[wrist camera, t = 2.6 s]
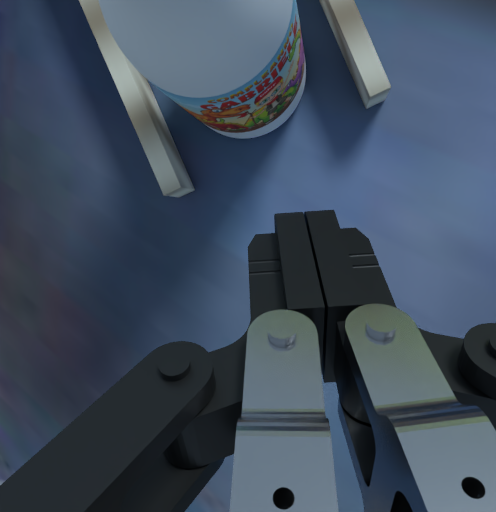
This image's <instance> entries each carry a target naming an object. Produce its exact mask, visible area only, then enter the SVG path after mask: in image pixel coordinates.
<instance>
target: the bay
mask: <svg viewBox="0 0 496 512" xmlns="http://www.w3.org/2000/svg"><path fill="white" fill-rule="evenodd" d="M319 1H320V3H321V6H322V8H323V10H324V13H325V15H326V17H327V20H328V22H329V24H330V27H331V29H332V31H333V34H334V36H335V38H336V41H337V43H338V45H339V47H340V50H341V52H342V54H343V57H344V59H345V61H346V64H347V66H348V68H349V71H350V73H351V75H352V78H353V80H354V82H355V85H356V87H357V89H358V92H359V94H360V96H361V99H362V101H363V103H364V106H365V108H366V109H368V108H370V107H372V106H374V105H376V104H378V103H380V102H382V101H384V100H385V99H386V97H387V95H388V92H389V90H390V88H391V85H390V83H389V81H388V78H387V76H386V74H385V71H384V69H383V67H382V65H381V62H380V60H379V58H378V55H377V53H376V51H375V48H374V46H373V44H372V41H371V39H370V37H369V34H368V32H367V30H366V27H365V25H364V23H363V20H362V18H361V16H360V13H359V11H358V9H357V6H356V4H355V2H354V0H319ZM79 2H80V4H81V6H82V9H83V11H84V13H85V16H86V18H87V20H88V22H89V25H90V27H91V29H92V32H93V34H94V36H95V39H96V41H97V43H98V45H99V48H100V50H101V52H102V55H103V57H104V59H105V61H106V64H107V66H108V68H109V71H110V73H111V75H112V78H113V80H114V82H115V84H116V87H117V89H118V91H119V94H120V96H121V98H122V101H123V103H124V105H125V107H126V110H127V112H128V114H129V117H130V119H131V121H132V124H133V126H134V128H135V130H136V133H137V135H138V137H139V140H140V142H141V144H142V147H143V149H144V151H145V153H146V156H147V158H148V160H149V163H150V165H151V167H152V170H153V172H154V174H155V176H156V179H157V181H158V183H159V186H160V188H161V190H162V192H163V195H164V196H172V197H181V196H183V195H186V194H188V193H190V192H192V191H194V190H195V189H194V186H193V184H192V182H191V180H190V177H189V175H188V173H187V170H186V168H185V166H184V163H183V161H182V159H181V157H180V154H179V152H178V150H177V147H176V145H175V143H174V140H173V138H172V136H171V134H170V131H169V129H168V127H167V124H166V122H165V120H164V117H163V115H162V113H161V111H160V108H159V106H158V104H157V101H156V99H155V97H154V94H153V92H152V90H151V88H150V85H149V83H148V81H147V79H146V78H145V77H144V76H143V75H142V74H141V73H140V72H139V71H138V70H137V69H136V68H135V67H134V66H133V65H132V64H131V62H130V61H129V60H128V59H127V57H126V56H125V55H124V54H123V52H122V51H121V49H120V48H119V47H118V45H117V43H116V42H115V40H114V38H113V36H112V34H111V33H110V31H109V29H108V26H107V24H106V22H105V19H104V16H103V14H102V11H101V8H100V5H99V1H98V0H79Z"/></svg>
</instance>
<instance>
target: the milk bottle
mask: <svg viewBox="0 0 496 512" xmlns="http://www.w3.org/2000/svg"><path fill="white" fill-rule="evenodd" d="M98 1H99V5H100V8H101V11H102V14H103V16H104V19H105V22H106V24H107V26H108V29H109V31H110V33H111V34H112V36H113V38H114V40H115V42H116V43H117V45H118V47H119V48H120V49H121V51H122V52H123V54H124V55H125V56H126V57H127V59H128V60H129V61H130V62H131V64H132V65H133V66H134V67H135V68H136V69H137V70H138V71H139V72H140V73H141V74H142V75H143V76H144V77H145V78H146V79H148V80H149V81H150V82H151V83H152V84H153V85H154V86H155V87H157V88H158V89H159V90H160V91H162V92H163V93H164V94H165V95H167V96H168V97H169V98H170V99H172V100H173V101H174V102H176V103H177V104H178V105H179V106H181V107H182V108H183V109H185V110H186V111H187V112H189V113H190V114H191V115H193V116H194V117H195V118H197V119H198V120H199V121H201V122H202V123H203V124H205V125H206V126H207V127H209V128H211V129H212V130H214V131H216V132H218V133H220V134H222V135H225V136H228V137H232V138H239V139H247V138H255V137H259V136H262V135H265V134H267V133H269V132H271V131H273V130H275V129H276V128H278V127H279V126H280V125H282V124H283V123H284V122H285V121H286V120H287V119H288V118H289V117H290V116H291V114H292V113H293V112H294V110H295V109H296V107H297V105H298V104H299V101H300V99H301V97H302V94H303V91H304V87H305V80H306V63H305V55H304V47H303V40H302V34H301V27H300V20H299V15H298V9H297V3H296V0H98Z"/></svg>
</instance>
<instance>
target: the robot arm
mask: <svg viewBox="0 0 496 512" xmlns="http://www.w3.org/2000/svg"><path fill="white" fill-rule="evenodd" d="M274 220H275V233H271V234H256V235H255V236H254V238H253V240H252V241H251V243H250V244H249V246H248V261H249V285H250V310H251V321H250V325H249V327H248V329H247V331H246V332H245V334H244V335H243V336H242V337H241V338H240V339H238V340H237V341H236V342H234V343H232V344H231V345H229V346H226V347H224V348H221V349H218V350H215V351H212V352H209V353H208V352H207V351H206V350H205V349H204V348H203V347H201V346H200V345H198V344H195V343H192V342H185V341H179V342H172V343H168V344H165V345H163V346H160V347H158V348H157V349H155V350H154V351H152V352H151V353H150V354H149V355H147V356H146V357H145V358H144V359H143V360H142V361H141V362H140V363H138V364H137V365H136V366H135V367H134V368H133V369H132V370H130V371H129V372H128V373H127V374H126V375H125V376H124V377H123V378H121V379H120V380H119V381H118V382H117V383H116V384H115V385H114V386H112V387H111V388H110V389H109V390H108V391H107V392H106V393H104V394H103V395H102V396H101V397H100V398H99V399H98V400H97V401H95V402H94V403H93V404H92V405H91V406H90V407H89V408H88V409H86V410H85V411H84V412H83V413H82V414H81V415H80V416H78V417H77V418H76V419H75V420H74V421H73V422H72V423H71V424H69V425H68V426H67V427H66V428H65V429H64V430H63V431H62V432H60V433H59V434H58V435H57V436H56V437H55V438H54V439H52V440H51V441H50V442H49V443H48V444H47V445H46V446H45V447H43V448H42V449H41V450H40V451H39V452H38V453H37V454H35V455H34V456H33V457H32V458H31V459H30V460H29V461H28V462H26V463H25V464H24V465H23V466H22V467H21V468H20V469H19V470H17V471H16V472H15V473H14V474H13V475H12V476H11V477H9V478H8V479H7V480H6V481H5V482H4V483H3V484H2V485H0V512H185V510H186V509H187V508H188V507H189V505H190V504H191V503H192V502H193V500H194V499H195V498H196V497H197V495H198V494H199V493H200V492H201V490H202V489H203V488H204V487H205V485H206V484H207V483H208V481H209V480H210V479H211V478H212V476H213V475H214V474H215V473H216V471H217V470H218V469H219V468H220V466H221V465H222V463H223V461H224V459H225V457H227V456H230V455H232V454H234V464H233V476H232V489H231V502H230V512H338V503H337V493H336V483H335V473H334V463H333V453H332V443H331V433H330V426H329V421H328V418H326V416H325V407H324V397H323V386H322V374H323V379H324V383H326V382H336V384H337V389H338V393H339V400H338V414H339V418H340V421H341V425H342V428H343V432H344V435H345V438H346V442H347V445H348V449H349V452H350V455H351V459H352V462H353V466H354V469H355V472H356V476H357V479H358V483H359V486H360V489H361V493H362V498H363V503H364V512H496V323H487V324H481V325H477V326H475V327H473V328H471V329H470V330H469V331H468V332H467V333H466V335H465V337H464V339H461V338H456V337H450V336H445V335H439V334H434V333H430V332H427V331H424V330H422V329H420V328H418V327H417V326H416V324H415V322H414V321H413V319H412V318H411V317H410V316H409V315H408V314H406V313H405V312H403V311H402V310H400V309H398V308H397V307H396V305H395V303H394V300H393V298H392V295H391V293H390V290H389V288H388V285H387V283H386V280H385V278H384V275H383V273H382V271H381V268H380V266H379V263H378V261H377V258H376V256H375V255H374V251H373V248H372V246H371V244H370V241H369V239H368V238H367V237H366V236H365V235H363V234H362V233H361V232H360V231H359V230H358V229H356V228H344V229H340V227H339V224H338V220H337V217H336V214H335V212H334V210H323V211H308V212H305V213H304V214H303V212H295V213H280V214H275V216H274Z"/></svg>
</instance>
